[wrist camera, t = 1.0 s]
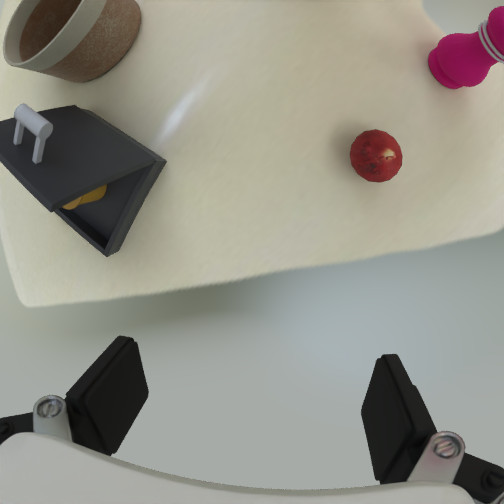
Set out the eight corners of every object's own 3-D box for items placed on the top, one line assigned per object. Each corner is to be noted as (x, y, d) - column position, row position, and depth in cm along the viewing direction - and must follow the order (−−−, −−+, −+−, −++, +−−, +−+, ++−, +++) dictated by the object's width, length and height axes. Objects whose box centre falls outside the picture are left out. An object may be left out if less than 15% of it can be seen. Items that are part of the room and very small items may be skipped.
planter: (51, 86, 33) (-10, 74, 20) (79, 5, 28) (30, -21, 15) (125, 81, 32) (62, 55, 19) (156, -9, 27) (114, -55, 14)
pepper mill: (436, 37, 25) (514, -22, 6) (472, 72, 26) (562, 37, 7) (416, 65, 27) (503, 6, 8) (455, 102, 28) (557, 75, 9)
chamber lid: (51, 213, 18) (60, 159, 16) (-23, 134, 17) (-17, 92, 15) (153, 163, 31) (170, 128, 29) (73, 109, 30) (84, 77, 28)
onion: (362, 190, 33) (383, 196, 25) (334, 151, 32) (348, 145, 25) (397, 163, 32) (425, 163, 24) (370, 125, 31) (393, 114, 23)
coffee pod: (79, 173, 36) (52, 175, 30) (105, 163, 35) (78, 164, 29) (85, 206, 37) (59, 213, 31) (111, 198, 36) (85, 204, 30)
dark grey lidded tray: (118, 250, 39) (106, 257, 36) (52, 194, 38) (38, 197, 35) (167, 161, 35) (156, 160, 32) (89, 110, 34) (75, 107, 30)
